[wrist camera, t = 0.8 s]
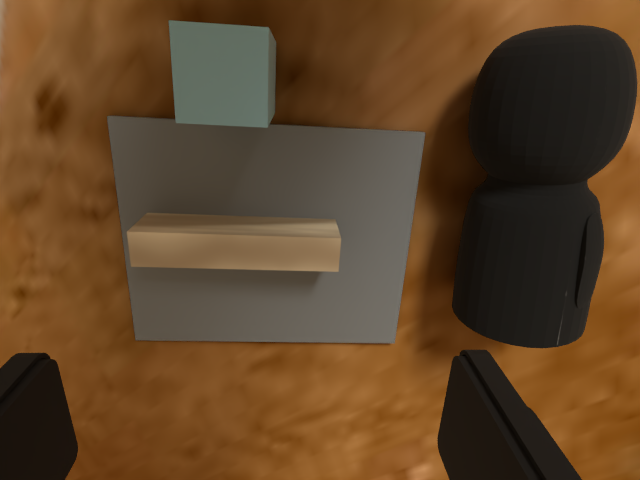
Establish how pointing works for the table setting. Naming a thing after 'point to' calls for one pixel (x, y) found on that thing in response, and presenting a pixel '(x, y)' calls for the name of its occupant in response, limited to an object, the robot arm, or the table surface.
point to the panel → (270, 201)
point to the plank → (234, 242)
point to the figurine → (541, 182)
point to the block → (223, 74)
